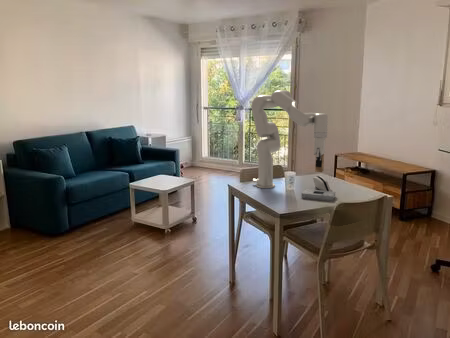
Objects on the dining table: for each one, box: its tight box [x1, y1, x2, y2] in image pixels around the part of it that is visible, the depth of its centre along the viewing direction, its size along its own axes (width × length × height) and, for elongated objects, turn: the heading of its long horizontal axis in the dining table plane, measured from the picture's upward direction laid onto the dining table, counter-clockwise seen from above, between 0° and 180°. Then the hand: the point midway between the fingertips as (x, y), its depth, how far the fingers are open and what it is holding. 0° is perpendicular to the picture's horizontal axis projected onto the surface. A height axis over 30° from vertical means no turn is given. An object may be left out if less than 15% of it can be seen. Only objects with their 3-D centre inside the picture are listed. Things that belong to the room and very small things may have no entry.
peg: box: [314, 153, 325, 173], centre depth 218 cm, size 4×4×10 cm
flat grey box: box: [301, 188, 336, 202], centre depth 223 cm, size 18×10×3 cm, turn 65°
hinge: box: [312, 175, 334, 192], centre depth 239 cm, size 17×5×10 cm, turn 9°
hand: (319, 165), depth 219 cm, fingers closed on peg, 4 cm apart
